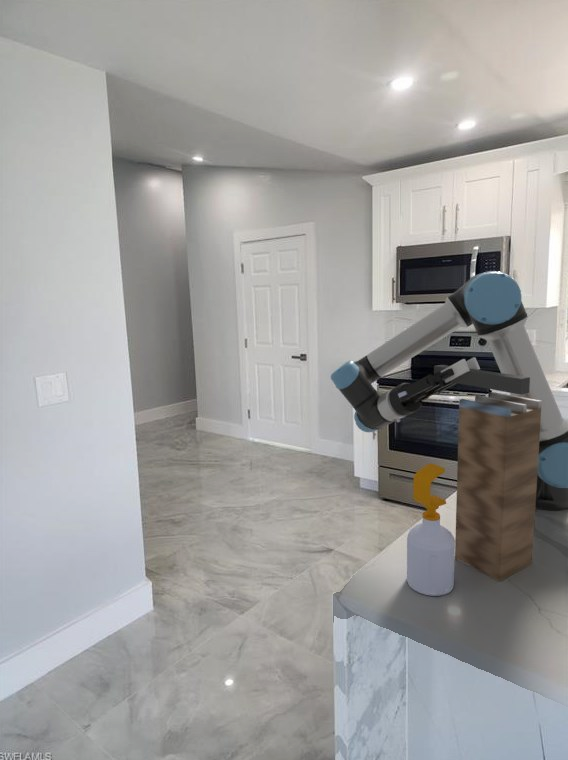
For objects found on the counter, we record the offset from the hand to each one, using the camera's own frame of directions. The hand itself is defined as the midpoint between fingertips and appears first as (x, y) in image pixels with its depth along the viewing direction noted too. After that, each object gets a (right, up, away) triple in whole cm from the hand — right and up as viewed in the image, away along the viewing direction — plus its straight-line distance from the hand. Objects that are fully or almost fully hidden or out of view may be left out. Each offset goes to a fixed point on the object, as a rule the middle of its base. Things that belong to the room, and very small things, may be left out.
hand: (471, 364), depth 105 cm
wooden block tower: (+6, -42, +4) cm, 43 cm away
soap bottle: (-10, -44, -4) cm, 46 cm away
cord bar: (+1, -4, -1) cm, 5 cm away
